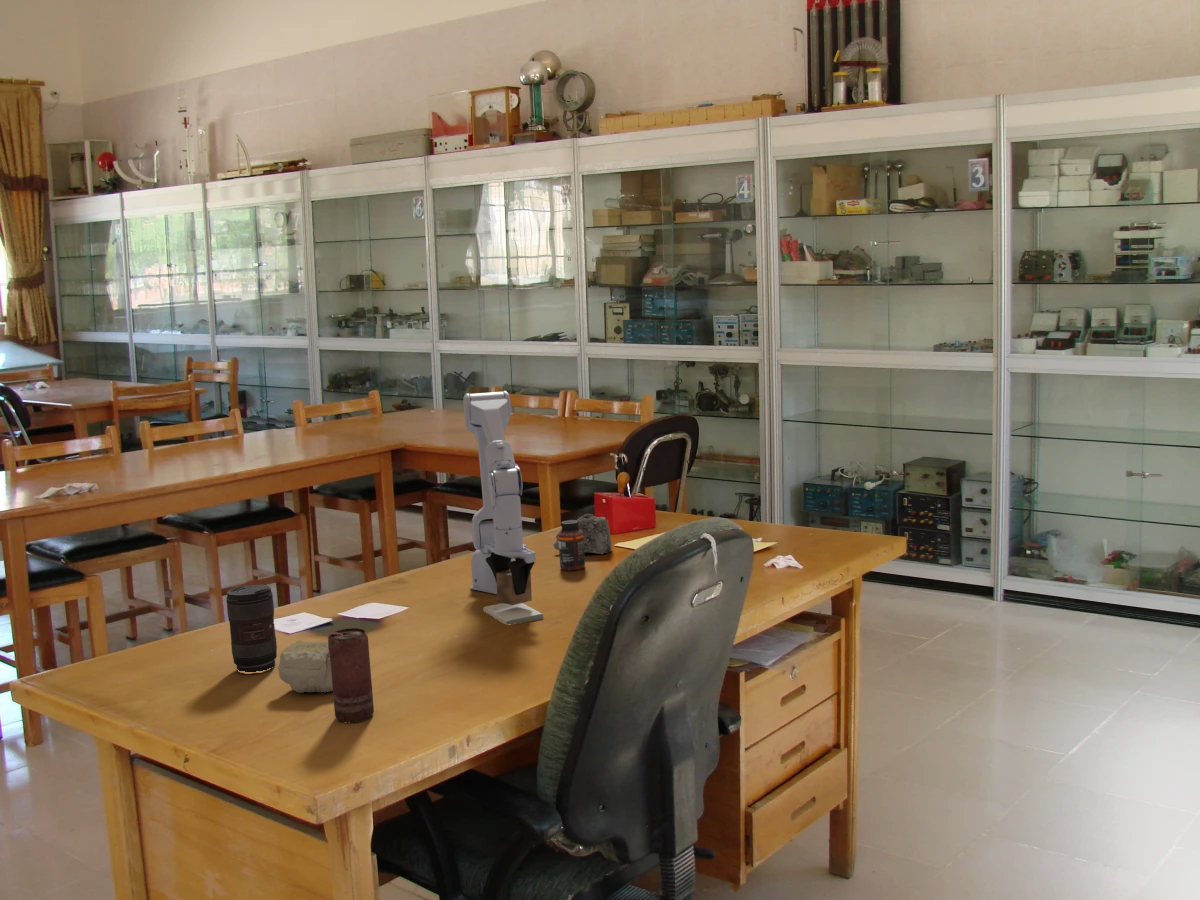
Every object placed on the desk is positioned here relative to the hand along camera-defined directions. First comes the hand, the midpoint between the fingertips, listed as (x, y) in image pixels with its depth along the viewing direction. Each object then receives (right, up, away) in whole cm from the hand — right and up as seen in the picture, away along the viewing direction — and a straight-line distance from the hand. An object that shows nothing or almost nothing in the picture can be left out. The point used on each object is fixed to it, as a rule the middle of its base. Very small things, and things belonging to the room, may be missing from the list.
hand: (511, 591), depth 237 cm
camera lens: (-45, -11, -25) cm, 53 cm away
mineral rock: (+14, +3, +51) cm, 53 cm away
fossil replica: (-31, -12, -38) cm, 50 cm away
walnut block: (+1, -2, +1) cm, 2 cm away
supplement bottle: (+12, +1, +36) cm, 37 cm away
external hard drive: (0, -6, +1) cm, 6 cm away
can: (-21, -14, -51) cm, 57 cm away
